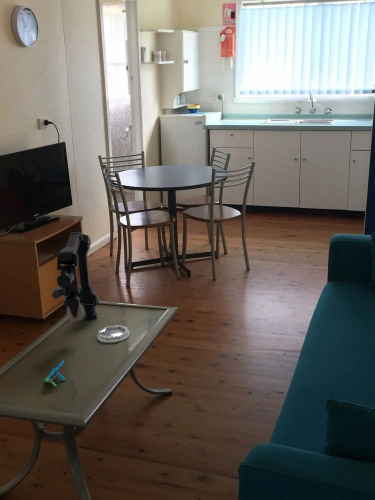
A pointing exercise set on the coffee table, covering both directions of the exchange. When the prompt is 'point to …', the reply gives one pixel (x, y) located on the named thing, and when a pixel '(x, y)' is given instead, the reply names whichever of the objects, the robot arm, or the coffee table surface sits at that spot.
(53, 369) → the blue green rod structure
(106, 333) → the rosette plate
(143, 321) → the coffee table surface
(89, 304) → the robot arm
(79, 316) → the vase
